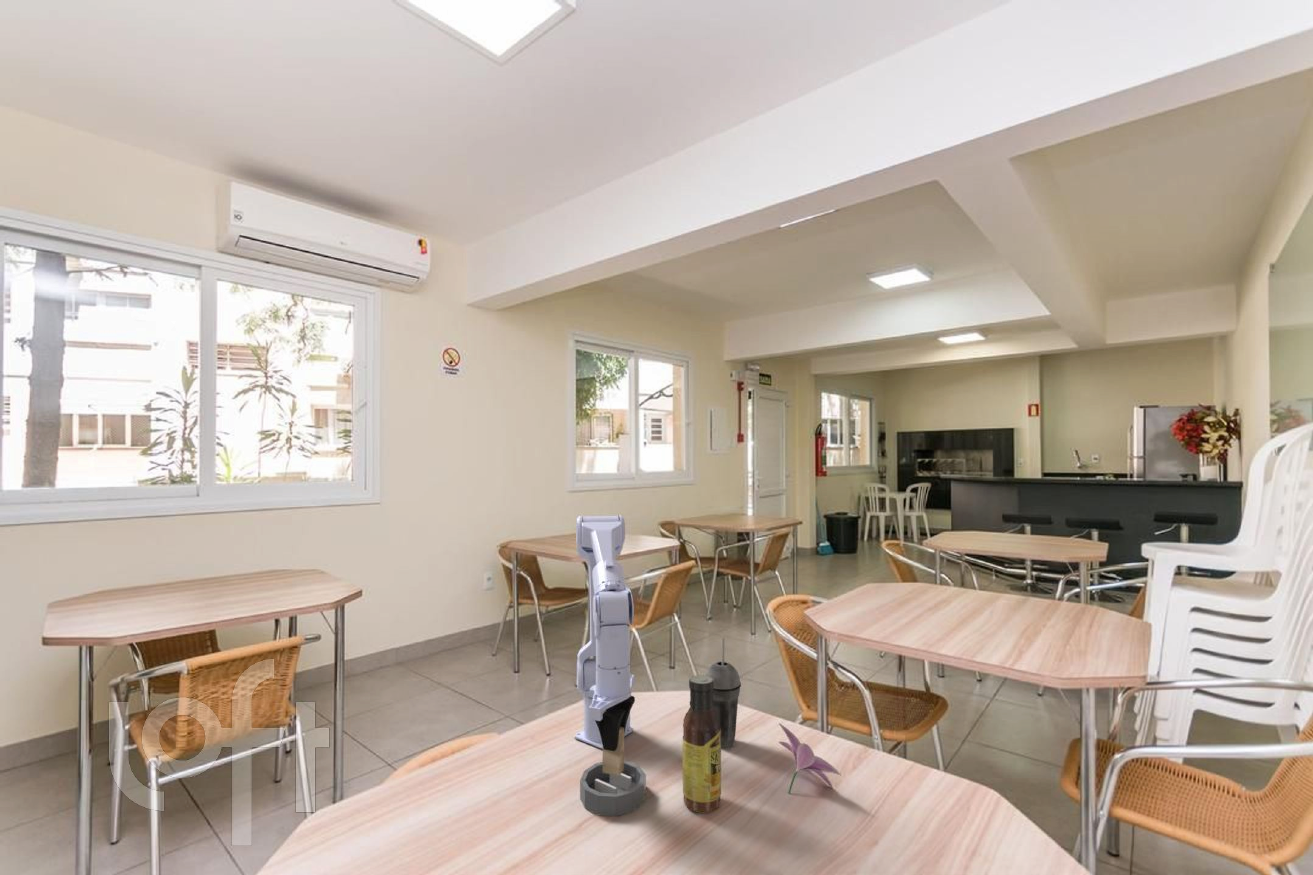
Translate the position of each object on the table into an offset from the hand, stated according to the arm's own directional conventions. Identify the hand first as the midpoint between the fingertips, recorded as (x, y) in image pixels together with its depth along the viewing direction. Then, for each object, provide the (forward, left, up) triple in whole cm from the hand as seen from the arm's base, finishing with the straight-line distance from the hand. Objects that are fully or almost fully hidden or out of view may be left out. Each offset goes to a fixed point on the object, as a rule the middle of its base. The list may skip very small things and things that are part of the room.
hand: (613, 745), depth 97 cm
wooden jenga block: (0, 0, -4) cm, 4 cm away
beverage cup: (-26, +6, -8) cm, 28 cm away
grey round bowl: (0, 0, -8) cm, 8 cm away
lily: (-22, +25, -8) cm, 34 cm away
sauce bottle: (-7, +13, -8) cm, 17 cm away
